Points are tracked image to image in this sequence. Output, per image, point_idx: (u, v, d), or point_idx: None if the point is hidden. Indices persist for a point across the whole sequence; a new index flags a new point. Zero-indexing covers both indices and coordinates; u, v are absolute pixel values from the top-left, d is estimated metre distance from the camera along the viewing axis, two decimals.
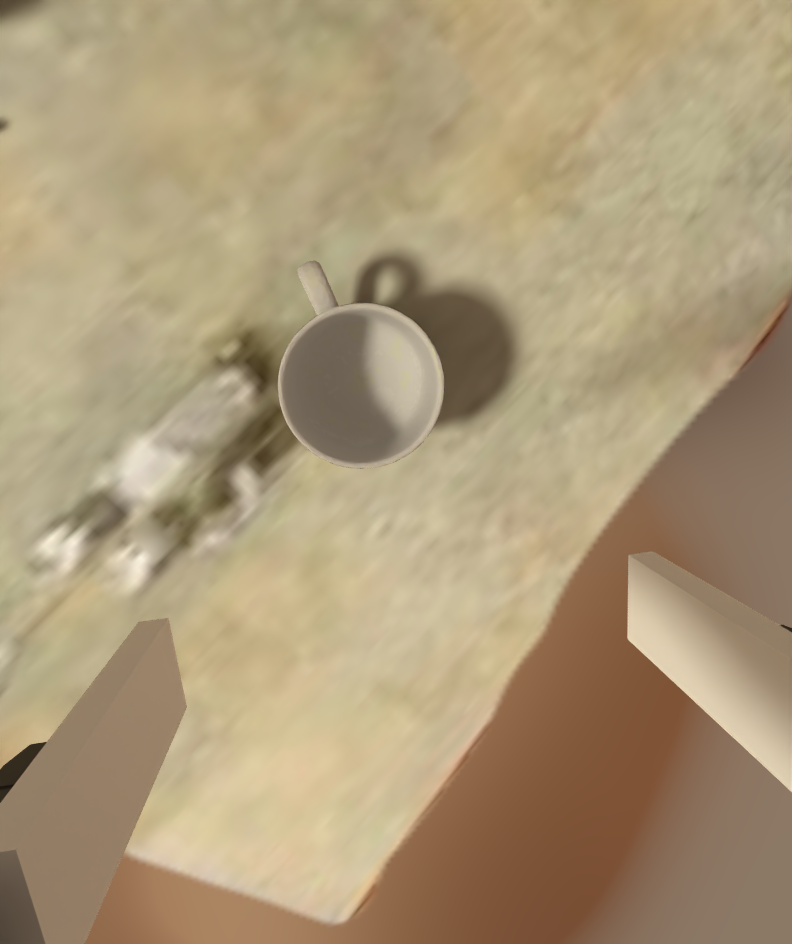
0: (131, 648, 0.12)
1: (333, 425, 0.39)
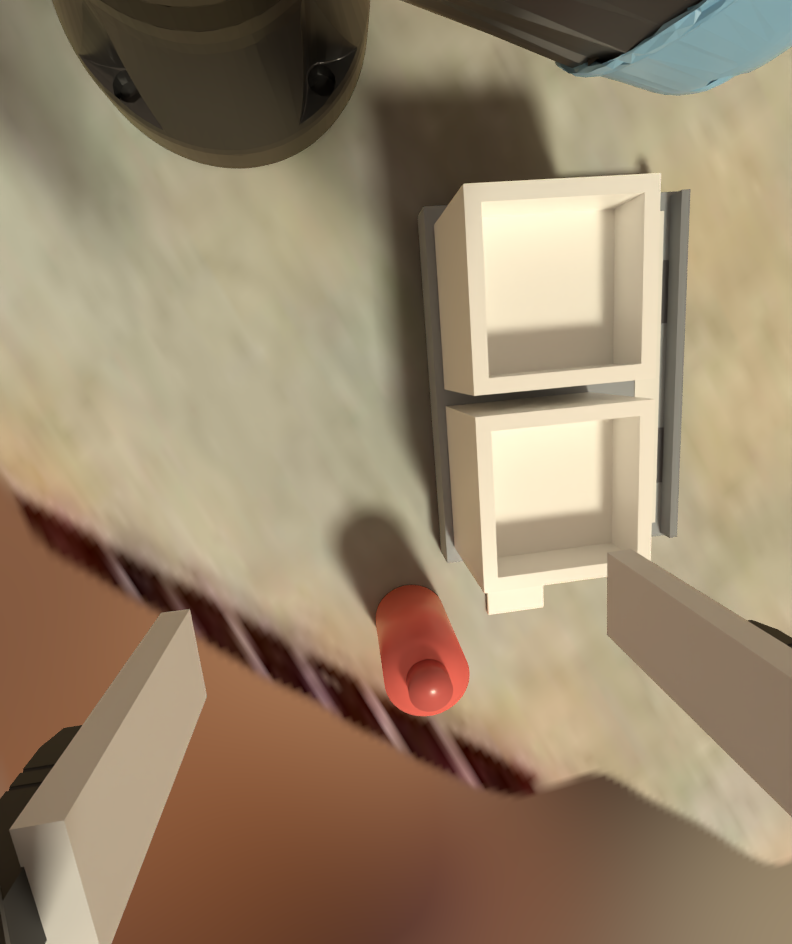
0: (155, 638, 0.12)
1: None
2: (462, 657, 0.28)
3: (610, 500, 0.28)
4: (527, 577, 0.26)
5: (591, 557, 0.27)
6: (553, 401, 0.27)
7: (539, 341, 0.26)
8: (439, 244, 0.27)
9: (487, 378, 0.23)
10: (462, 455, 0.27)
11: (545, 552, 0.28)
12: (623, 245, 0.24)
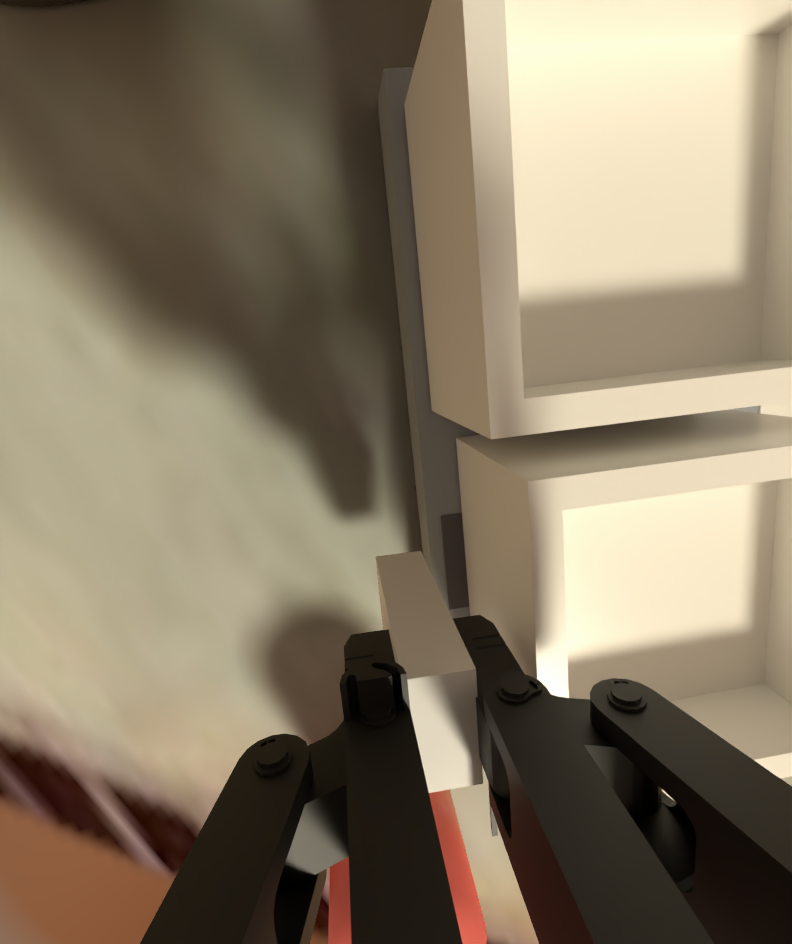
0: (390, 572, 0.15)
1: None
2: (472, 908, 0.15)
3: (767, 611, 0.15)
4: None
5: (744, 730, 0.14)
6: (662, 430, 0.14)
7: (617, 317, 0.13)
8: (414, 135, 0.14)
9: (520, 399, 0.10)
10: (492, 538, 0.14)
11: None
12: None
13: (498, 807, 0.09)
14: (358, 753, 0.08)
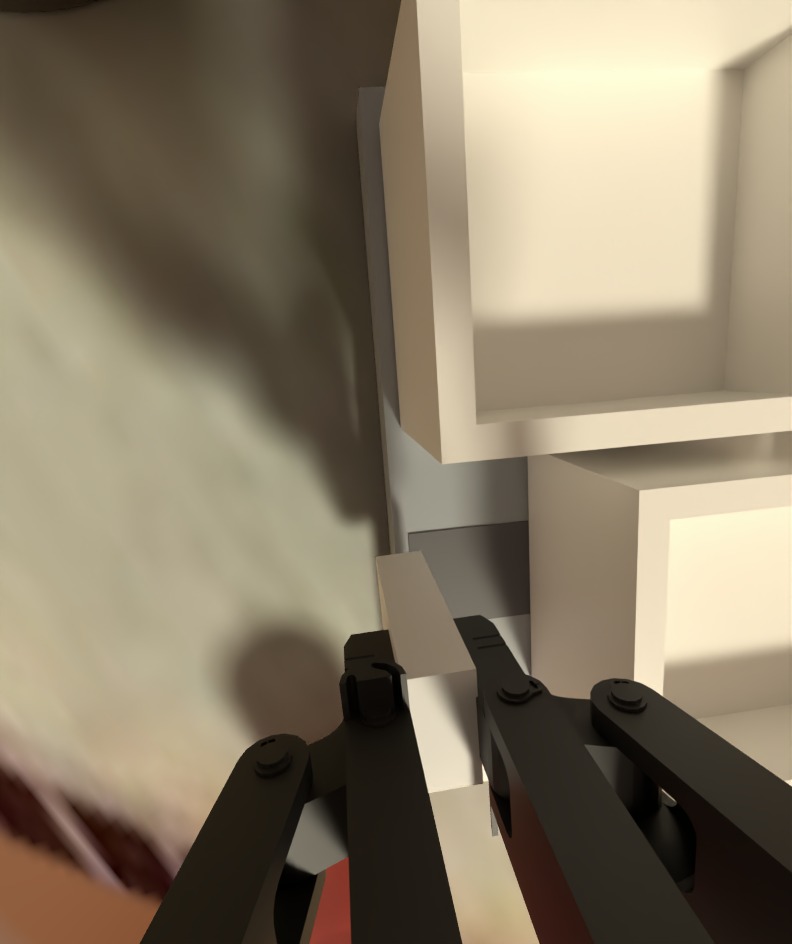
0: (390, 572, 0.15)
1: None
2: None
3: None
4: None
5: None
6: (741, 445, 0.15)
7: (580, 344, 0.13)
8: (386, 154, 0.14)
9: (472, 425, 0.10)
10: (575, 546, 0.14)
11: (715, 717, 0.15)
12: (769, 141, 0.11)
13: (498, 807, 0.09)
14: (358, 753, 0.08)
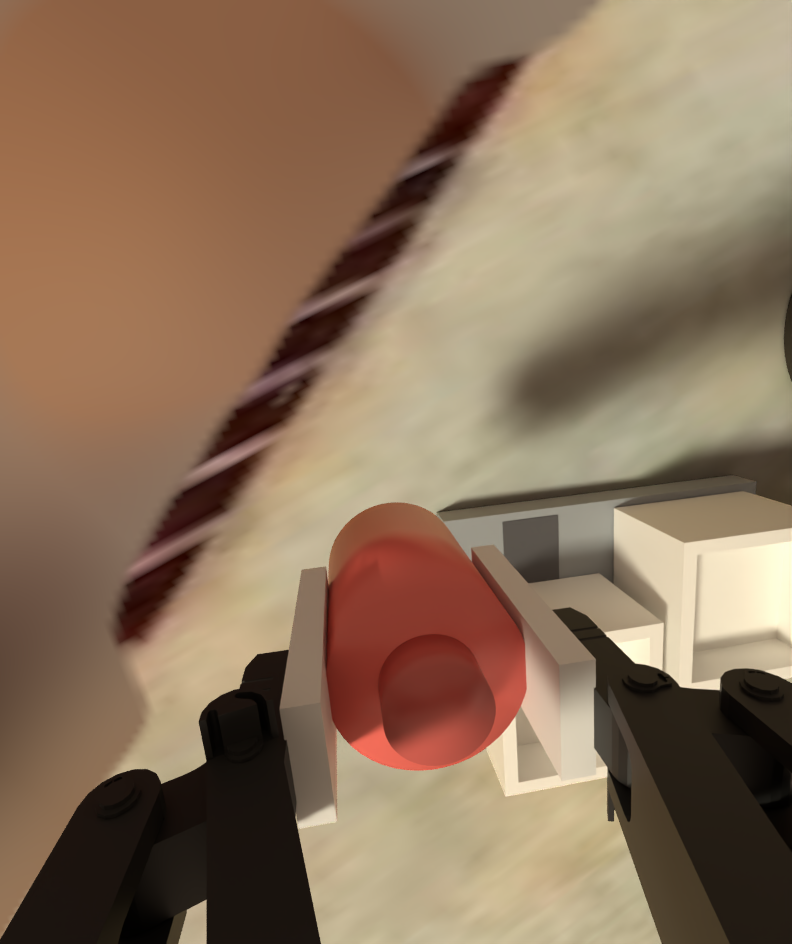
0: (310, 587, 0.14)
1: None
2: (482, 746, 0.12)
3: None
4: None
5: None
6: None
7: None
8: (739, 497, 0.31)
9: (697, 553, 0.26)
10: (592, 603, 0.29)
11: None
12: (760, 651, 0.30)
13: (617, 792, 0.09)
14: (220, 794, 0.08)
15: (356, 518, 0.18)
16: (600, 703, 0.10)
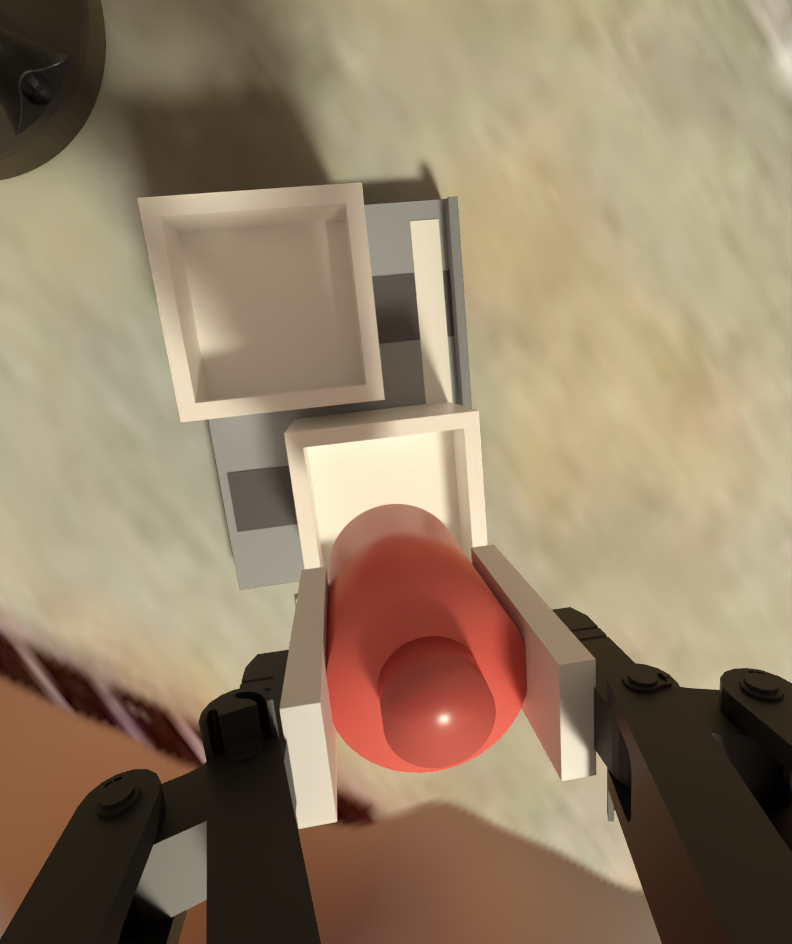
0: (309, 587, 0.14)
1: None
2: (482, 748, 0.12)
3: (457, 514, 0.27)
4: None
5: None
6: (392, 413, 0.26)
7: (277, 361, 0.24)
8: None
9: (193, 403, 0.22)
10: None
11: None
12: (350, 259, 0.23)
13: (617, 792, 0.09)
14: (221, 794, 0.08)
15: (356, 519, 0.18)
16: (600, 703, 0.10)
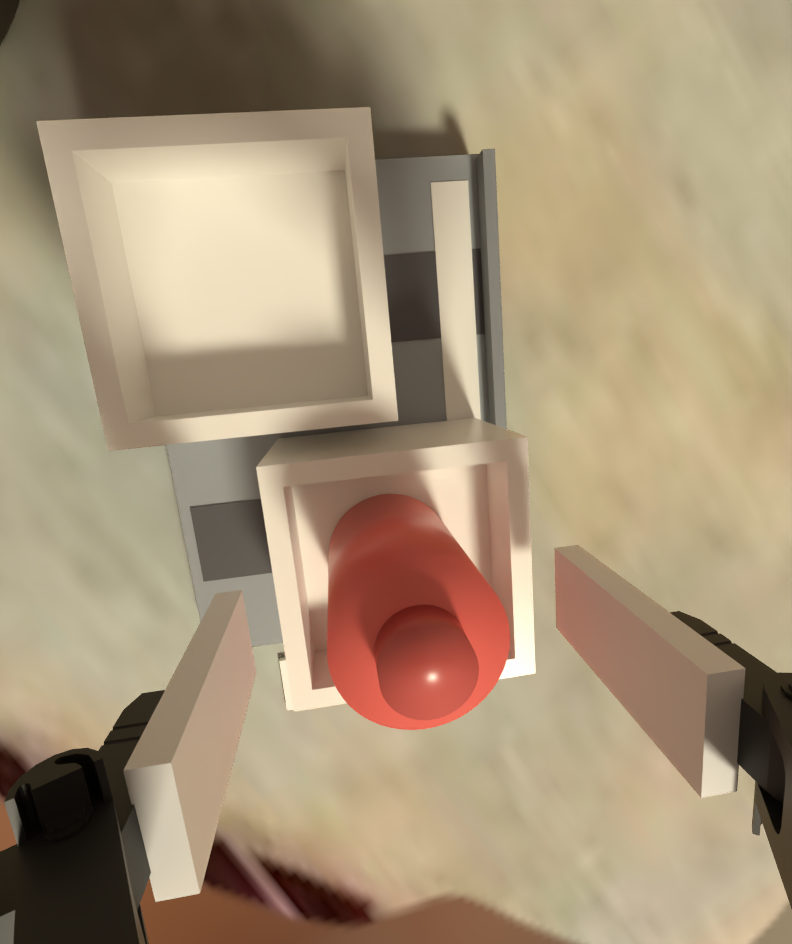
0: (216, 615, 0.13)
1: None
2: (469, 707, 0.13)
3: (489, 569, 0.20)
4: None
5: None
6: (405, 435, 0.20)
7: (250, 364, 0.18)
8: None
9: (125, 424, 0.15)
10: None
11: None
12: (352, 223, 0.16)
13: (766, 803, 0.09)
14: (35, 882, 0.07)
15: (354, 508, 0.19)
16: (752, 715, 0.09)
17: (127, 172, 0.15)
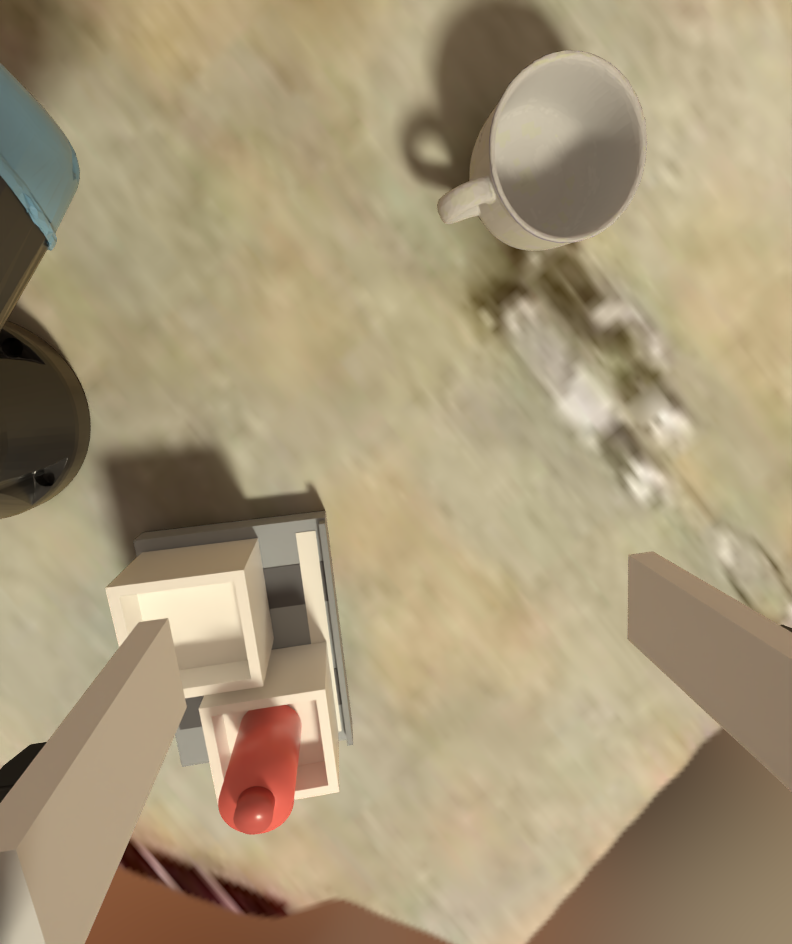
0: (131, 648, 0.12)
1: (568, 214, 0.39)
2: (280, 823, 0.33)
3: None
4: None
5: (302, 779, 0.39)
6: (279, 669, 0.39)
7: (198, 649, 0.37)
8: None
9: None
10: None
11: None
12: None
13: None
14: None
15: (249, 712, 0.39)
16: None
17: None
